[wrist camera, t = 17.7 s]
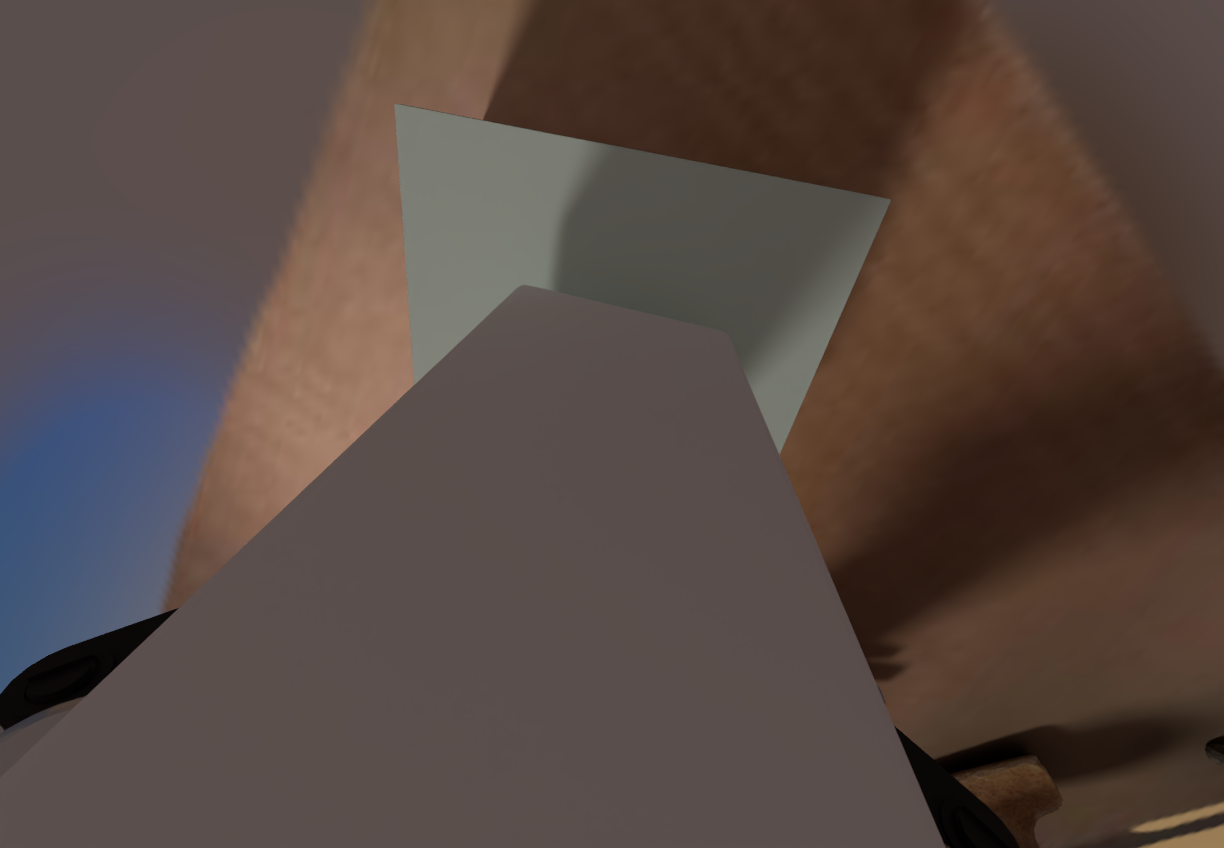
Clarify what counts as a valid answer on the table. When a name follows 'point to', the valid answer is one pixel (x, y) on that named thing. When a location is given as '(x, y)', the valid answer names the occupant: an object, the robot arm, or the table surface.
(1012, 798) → the brown upright piece
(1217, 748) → the tabletop clock
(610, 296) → the box lid
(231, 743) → the milk carton
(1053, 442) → the table surface
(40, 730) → the robot arm
